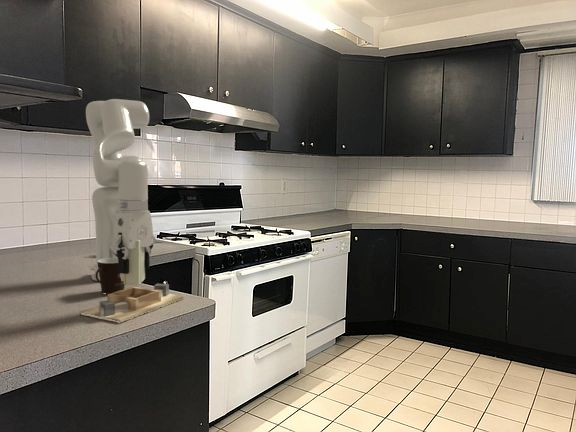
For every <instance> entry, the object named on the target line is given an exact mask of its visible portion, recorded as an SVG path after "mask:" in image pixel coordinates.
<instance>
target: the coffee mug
mask: <svg viewBox="0 0 576 432" xmlns="http://www.w3.org/2000/svg"><path fill="white" fill-rule="evenodd" d="M97 263H98V270H97V271H96V279H97V281H96V282H98V283H99V284H100V288H101V294H102V293H106V294H111V293H114V292H118V291H121V290H124V289H125V285H126V284H124V281H123V273H119V272H118V259H117V258H105V259H100V260H98V261H97ZM98 272H99V276H100V280H99V279H98Z"/></svg>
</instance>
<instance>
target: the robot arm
mask: <svg viewBox="0 0 576 432" xmlns="http://www.w3.org/2000/svg"><path fill="white" fill-rule="evenodd" d="M85 119H86V124H87V127H88V129H89V132H90V135H91V137H92V140H93V145H94V147H93V148H94V149H93V152H92V153H93V154H92V165H93V172H94V177H95V181H96V183H97V184H98V185H99V186H101V187H98V188H96V189H95V190H94V191H93V192H92V196H91V200H92V201H91V202H92V207H93V214H94V219H95V220H94V221H95V260H96V263H94V264H92V266H89V270H91V271H94V273H93V274H92V275H91V279H92V281H95V282H98V281H97V279H96V271H97V270H98V263H97V261H98V260H100V259H105V258H117V259H118V272H119V273H123V274H128V273H129V259H127V256H128V254H129V251H130V249H131V250H132V249H136V241H137V240H140V247H141V248H143V247H145V269H146V270H147V269H150V267H151V266H150V263H151V262H150V258H151V257H150V255H151V254H152V249H153V248H154V244H155V242H156V237H155V236H154V232H153V231H154V229H153V222H152V221H153V220H152V216H151V215H152V214H151V211H150V210H149V204H148V202H149V196H148V195H149V193H148V192H149V189H148V187H149V186H148V179H149V170H148V165H147V163H146V162H145V161H143V160H142V158H141V157H139V156H137V155H125V154H124V155H123V154H122V151H124V150H126V149H128V148H130V147H131V146H132V145H133V144H134V142H135V140H136V136H135V131H134V129H145V128H146V127H148V125H149V123H150V111H149V108H148V107H147V104H146V103H145V102H143V101H140V100H133V99H132V100H131V99H130V100H129V99H121V98H120V99H119V98H111V99H107V100H96V101H90V102H89V103H88V104H87V105H86V107H85ZM123 244H124V246H125V247H123ZM123 250H125V251H124V253H123ZM98 279H99V280H100V276H99V272H98Z"/></svg>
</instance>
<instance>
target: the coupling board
mask: <svg viewBox="0 0 576 432" xmlns="http://www.w3.org/2000/svg"><path fill="white" fill-rule="evenodd" d="M106 296H107V297H106V298H107V299H106V300H102V301H99V304H98V305H95V306H93V307H89V308H87V309H82V310H80V311H79V313H80V312H81V313H85V314H90V315H95V316H98V317H103V318H107V319H112V320H115V321H119V322H121V321H124V320H126V319H129V318H132V317H135V316H137V315H140V314H142V313H145V312H148V311H151V310H154V309H157V308H160V307H162V308H164V307H163V306H165V305H167V306H169V305H168V304H170V305H172V304H171V303H173V302H175V303H177V302H176V301H178V302H180V301H183V300H184V295H179V294H172V293H170V284H169V283H156V284H154V285H153V288H151V289H150V288H146V287H138V286H131V287H129V288H124V290H121V291H118V292H114V293H111V294H108V295H106ZM179 300H180V301H179ZM173 304H174V303H173ZM165 307H166V306H165ZM160 309H161V308H160ZM157 310H158V309H157Z"/></svg>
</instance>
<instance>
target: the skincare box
mask: <svg viewBox="0 0 576 432" xmlns="http://www.w3.org/2000/svg"><path fill="white" fill-rule="evenodd" d="M123 247H125V246H124V244H123ZM124 251H125V250H123V253H124ZM127 259H129V273H128V274H123V281H124V284H125V285H140V284H141V283H143V281H144V280H145V279H146V268H145V247H143V248H141V247H140V240H137V241H136V249H132V250H131V249H130V251H129V254H128V256H127Z"/></svg>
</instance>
